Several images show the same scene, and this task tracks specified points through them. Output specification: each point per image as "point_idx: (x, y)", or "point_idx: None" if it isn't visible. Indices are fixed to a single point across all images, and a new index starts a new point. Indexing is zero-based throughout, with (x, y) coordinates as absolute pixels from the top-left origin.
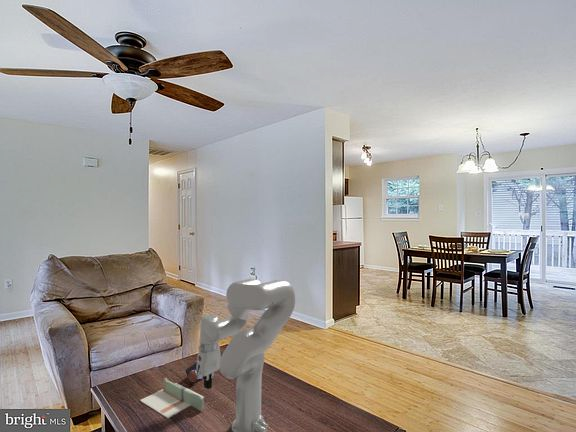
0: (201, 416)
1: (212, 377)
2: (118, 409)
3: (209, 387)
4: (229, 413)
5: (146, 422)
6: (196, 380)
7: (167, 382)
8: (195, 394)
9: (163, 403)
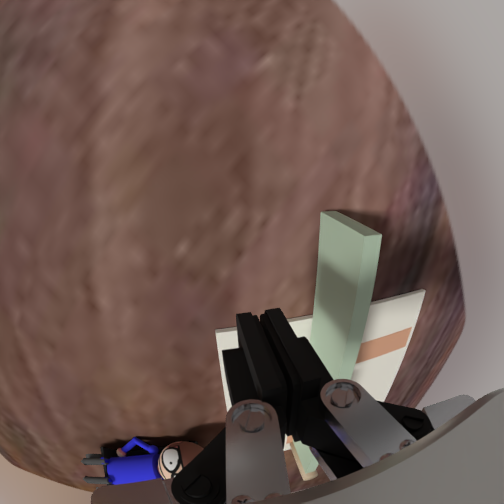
0: (355, 176)
1: (239, 411)
2: (414, 402)
3: (276, 316)
4: (220, 48)
5: (448, 313)
6: (181, 445)
7: (316, 463)
8: (350, 331)
9: (364, 382)
